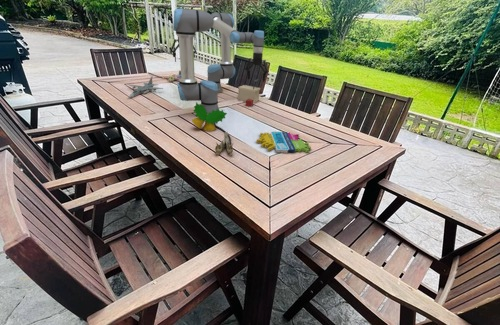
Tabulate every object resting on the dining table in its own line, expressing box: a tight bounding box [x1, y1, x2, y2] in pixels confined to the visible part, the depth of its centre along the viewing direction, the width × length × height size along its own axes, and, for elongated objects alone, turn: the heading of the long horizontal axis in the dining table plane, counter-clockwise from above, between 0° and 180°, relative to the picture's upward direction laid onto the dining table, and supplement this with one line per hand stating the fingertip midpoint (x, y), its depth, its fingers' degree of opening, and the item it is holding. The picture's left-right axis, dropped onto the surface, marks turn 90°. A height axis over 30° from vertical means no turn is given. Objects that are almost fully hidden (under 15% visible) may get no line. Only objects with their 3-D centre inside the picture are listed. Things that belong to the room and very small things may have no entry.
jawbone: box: [214, 131, 234, 156], centre depth 136 cm, size 9×15×10 cm
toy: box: [161, 70, 181, 82], centre depth 276 cm, size 28×7×30 cm
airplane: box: [127, 75, 164, 99], centre depth 224 cm, size 38×31×10 cm
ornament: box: [191, 101, 228, 132], centre depth 162 cm, size 21×8×15 cm, turn 105°
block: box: [245, 99, 254, 108], centre depth 212 cm, size 5×5×5 cm
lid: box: [237, 78, 261, 92], centre depth 219 cm, size 16×10×8 cm, turn 64°
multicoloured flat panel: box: [256, 131, 312, 154], centre depth 152 cm, size 26×2×30 cm
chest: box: [237, 89, 260, 104], centre depth 223 cm, size 15×10×10 cm, turn 64°
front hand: (184, 61), depth 211 cm, fingers open, 13 cm apart
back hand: (256, 80), depth 215 cm, fingers open, 13 cm apart
